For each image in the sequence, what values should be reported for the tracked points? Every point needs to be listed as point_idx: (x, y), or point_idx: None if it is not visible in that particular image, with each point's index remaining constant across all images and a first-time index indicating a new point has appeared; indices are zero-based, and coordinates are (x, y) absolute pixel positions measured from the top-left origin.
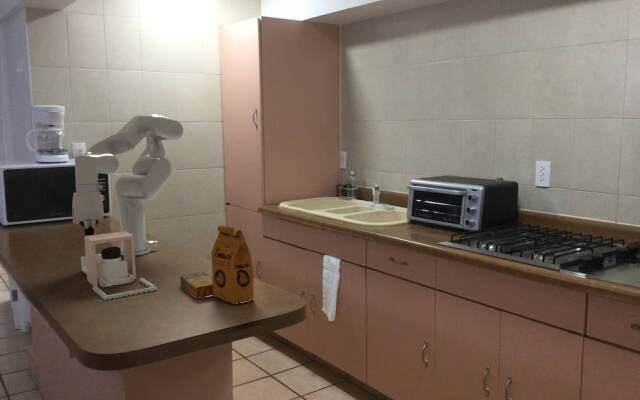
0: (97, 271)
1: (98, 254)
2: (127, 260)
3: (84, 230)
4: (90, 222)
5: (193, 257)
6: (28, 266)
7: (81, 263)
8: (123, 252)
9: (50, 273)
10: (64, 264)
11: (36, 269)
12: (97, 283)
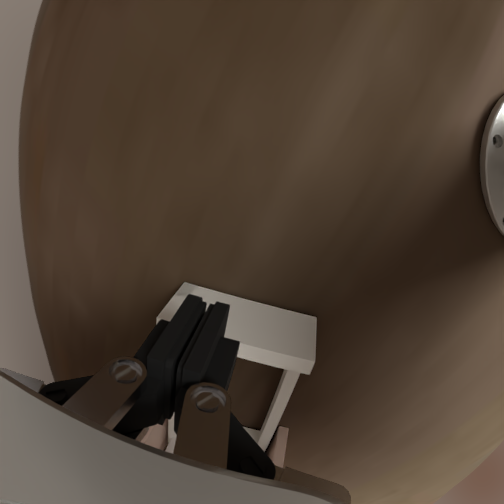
0: (166, 451)
1: (245, 350)
2: None
3: (139, 355)
4: (180, 437)
5: None
6: (67, 29)
7: (171, 299)
8: (496, 172)
9: (84, 212)
10: (173, 89)
11: (66, 101)
12: (166, 443)
